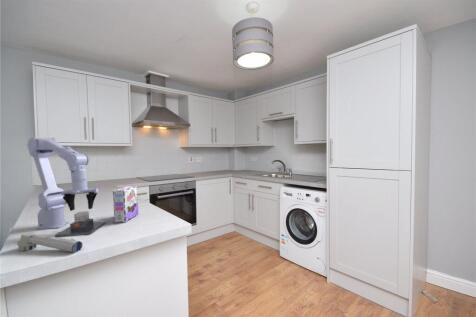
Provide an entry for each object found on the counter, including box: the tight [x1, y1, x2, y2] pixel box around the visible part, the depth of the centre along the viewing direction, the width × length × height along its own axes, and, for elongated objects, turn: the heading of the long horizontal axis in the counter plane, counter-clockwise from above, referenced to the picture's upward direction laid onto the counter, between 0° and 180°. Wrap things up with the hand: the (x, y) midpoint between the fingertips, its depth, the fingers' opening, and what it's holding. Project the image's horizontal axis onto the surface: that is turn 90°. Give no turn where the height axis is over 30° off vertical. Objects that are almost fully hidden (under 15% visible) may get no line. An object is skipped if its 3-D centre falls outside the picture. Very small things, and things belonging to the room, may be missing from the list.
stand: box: [54, 218, 107, 238], centre depth 100 cm, size 14×14×4 cm
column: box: [73, 210, 90, 223], centre depth 99 cm, size 4×4×7 cm
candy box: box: [112, 185, 139, 224], centre depth 114 cm, size 14×6×16 cm, turn 179°
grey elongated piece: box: [16, 231, 83, 254], centre depth 80 cm, size 5×7×25 cm
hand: (81, 209), depth 99 cm, fingers open, 7 cm apart
